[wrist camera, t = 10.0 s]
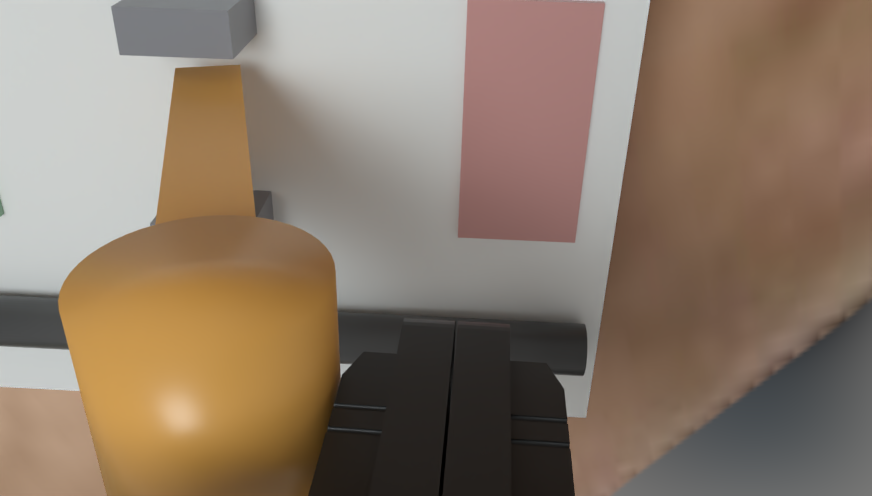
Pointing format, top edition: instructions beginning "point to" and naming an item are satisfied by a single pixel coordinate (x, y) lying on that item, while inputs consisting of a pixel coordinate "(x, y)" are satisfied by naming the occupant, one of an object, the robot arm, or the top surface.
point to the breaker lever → (206, 323)
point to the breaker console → (336, 156)
